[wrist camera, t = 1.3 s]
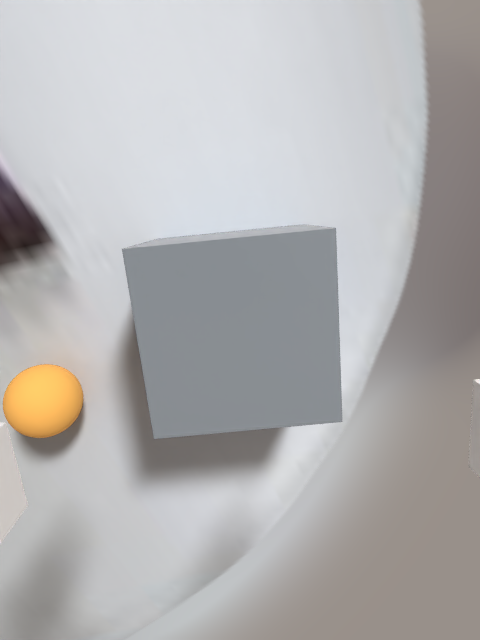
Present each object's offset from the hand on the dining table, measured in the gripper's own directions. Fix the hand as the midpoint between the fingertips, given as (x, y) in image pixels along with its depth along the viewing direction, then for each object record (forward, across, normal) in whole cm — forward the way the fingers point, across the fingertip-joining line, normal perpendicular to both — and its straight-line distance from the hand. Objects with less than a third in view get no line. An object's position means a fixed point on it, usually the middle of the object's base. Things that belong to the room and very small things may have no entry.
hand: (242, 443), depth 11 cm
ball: (+16, -14, -5) cm, 21 cm away
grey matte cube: (+18, 0, 0) cm, 18 cm away
